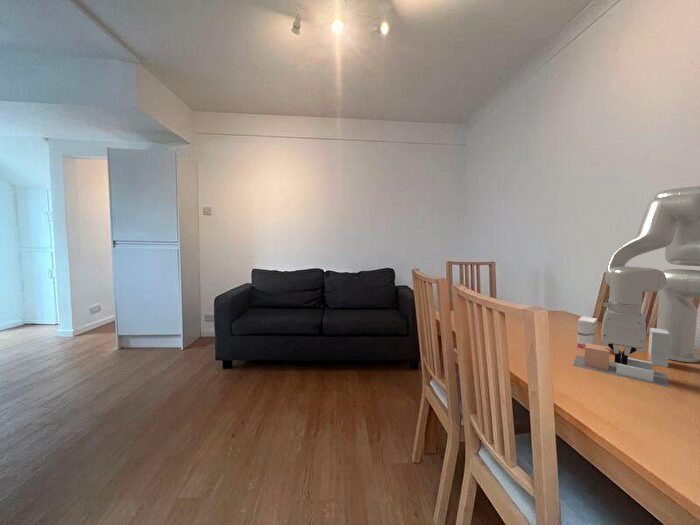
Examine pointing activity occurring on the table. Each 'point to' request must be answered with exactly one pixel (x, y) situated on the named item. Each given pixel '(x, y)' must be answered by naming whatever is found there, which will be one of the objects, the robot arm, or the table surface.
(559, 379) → the table surface
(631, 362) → the channel base
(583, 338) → the ink box
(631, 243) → the robot arm
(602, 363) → the block
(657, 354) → the skincare box
